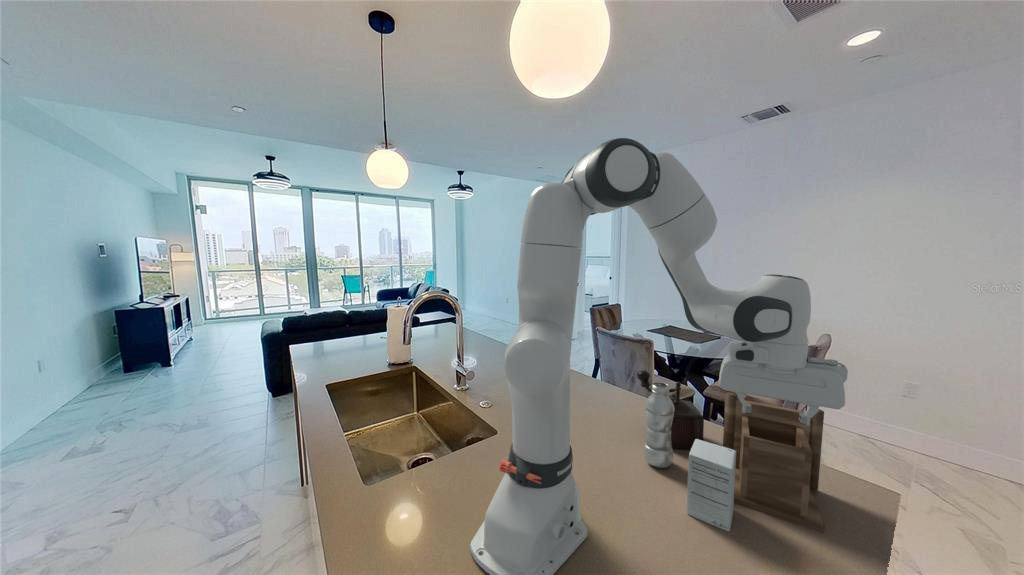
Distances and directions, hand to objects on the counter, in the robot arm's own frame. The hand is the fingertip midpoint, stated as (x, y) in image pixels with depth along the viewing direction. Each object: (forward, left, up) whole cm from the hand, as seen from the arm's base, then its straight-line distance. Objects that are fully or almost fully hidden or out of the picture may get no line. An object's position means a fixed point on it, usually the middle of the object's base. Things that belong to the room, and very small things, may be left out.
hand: (774, 418), depth 69 cm
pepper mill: (+12, +22, -17) cm, 30 cm away
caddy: (0, 0, -17) cm, 17 cm away
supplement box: (-13, +10, -17) cm, 24 cm away
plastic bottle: (-2, +22, -17) cm, 28 cm away
